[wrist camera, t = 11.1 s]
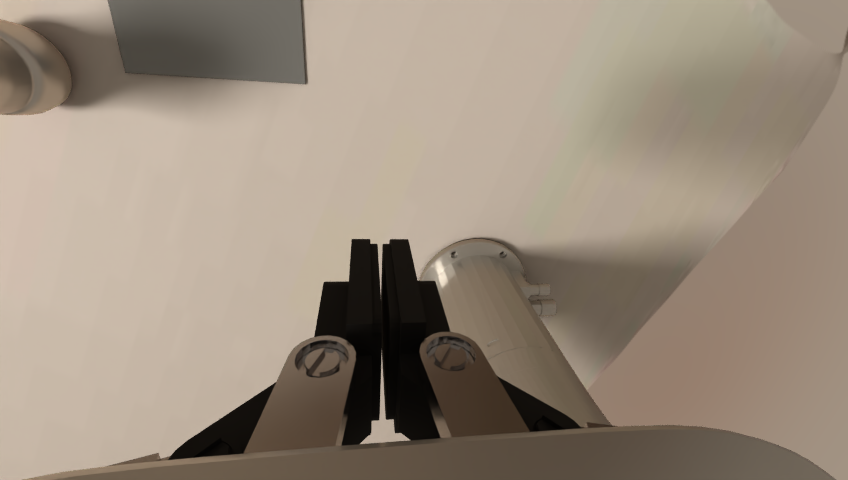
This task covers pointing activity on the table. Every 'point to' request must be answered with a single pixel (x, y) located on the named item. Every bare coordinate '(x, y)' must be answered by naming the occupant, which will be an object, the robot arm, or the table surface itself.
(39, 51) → the plastic bottle
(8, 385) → the table surface
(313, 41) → the table surface
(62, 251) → the table surface
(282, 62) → the mat
